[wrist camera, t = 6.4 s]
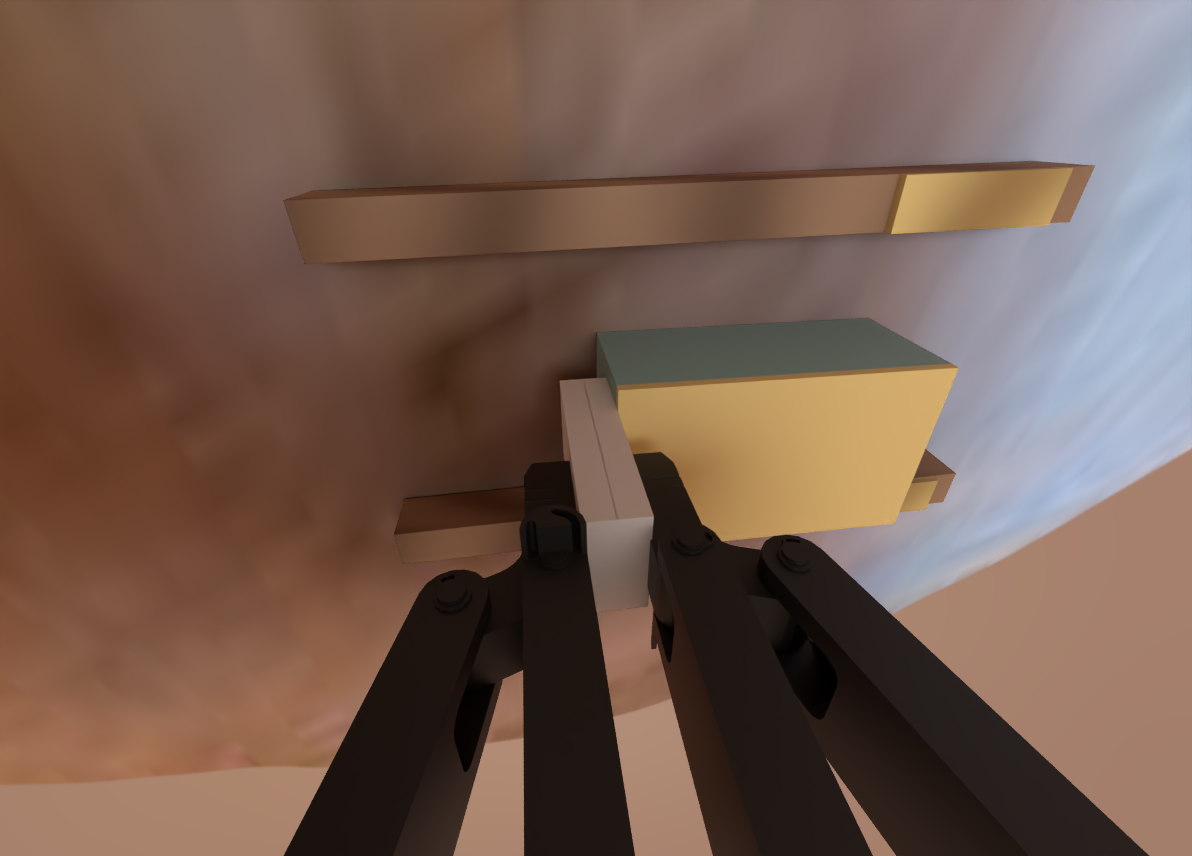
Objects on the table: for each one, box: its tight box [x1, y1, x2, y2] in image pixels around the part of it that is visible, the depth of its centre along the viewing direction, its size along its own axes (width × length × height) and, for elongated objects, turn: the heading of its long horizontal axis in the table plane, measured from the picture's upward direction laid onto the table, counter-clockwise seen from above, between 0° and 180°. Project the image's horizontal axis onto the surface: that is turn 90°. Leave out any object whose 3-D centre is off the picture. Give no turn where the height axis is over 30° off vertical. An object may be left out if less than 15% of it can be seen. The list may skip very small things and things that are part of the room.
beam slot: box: [283, 161, 1095, 564], centre depth 17 cm, size 22×12×2 cm, turn 92°
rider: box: [597, 318, 959, 541], centre depth 17 cm, size 10×6×4 cm, turn 91°
